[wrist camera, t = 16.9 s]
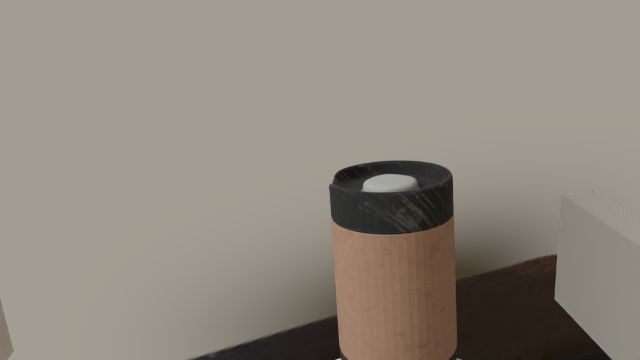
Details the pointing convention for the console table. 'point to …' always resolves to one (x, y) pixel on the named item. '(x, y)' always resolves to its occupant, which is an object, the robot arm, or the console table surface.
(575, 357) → the cell phone
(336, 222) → the travel mug
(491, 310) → the console table surface
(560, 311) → the console table surface
